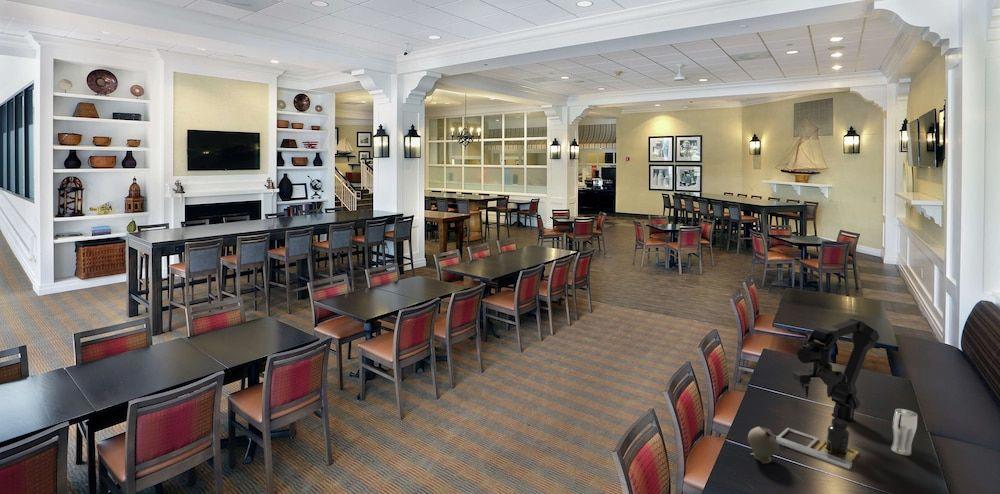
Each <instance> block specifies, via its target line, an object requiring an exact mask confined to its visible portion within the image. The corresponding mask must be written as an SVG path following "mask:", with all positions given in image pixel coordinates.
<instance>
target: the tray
mask: <svg viewBox="0 0 1000 494" xmlns="http://www.w3.org/2000/svg"><path fill="white" fill-rule="evenodd" d="M788 432H791V433H795V434H797V435H799V436H803V437H806V438H808V439H812V441H811V442H810V443H809V444H807V446H806V445H804V444H801V443H797V442H795V441H792V440H790V439H787V438H783V436H785V435H786V434H787V433H788ZM775 436H776V437H777V439H776V441H777V443H778V444H779V446H783V447H786V448H788V449H791V450H793V451H796V452H800V453H802V454H805V455H807V456H811V457H813V458H817V459H819V460H822V461H825V462H828V463H830V464H833V465H836V466H838V467H842V468H844V469H847V470H850V469H852V466H853V460H854V459H855V458H856V457H857V456H858V455H859V451H858V450H855V449H853V448H849V447H848V451H847V455H846V456H835V455H832V454H830V453H829V452H827V451H826V448H825V447H826V439H824V440H822V442H821V443H820V444H819V445H818V446H817V447H816V448H815V449H814V448H812V447H813V446H814V445H815V444H816V443H817V442H818V441H819V437H817V436H814V435H810V434H808V433H804V432H802V431H798V430H796V429H794V428H793V429H792V428H789V427H786V428H785V429H784V430H782V432H781V433H779V434H778V435H775Z"/></svg>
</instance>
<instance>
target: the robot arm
mask: <svg viewBox="0 0 1000 494" xmlns="http://www.w3.org/2000/svg"><path fill="white" fill-rule="evenodd" d="M850 334H852V337H851V340H852V344H853V347H852V350H851V352H850V356H849V358H848V361H847V363H846V366H845V368H844V371H843V372H842V371H841V370H840V371H838V370H833V364H831V362H830V361H831V354H832V350H834V349H836V346H834V345H833V344H835V343H837V342H838V339H839V338H842V337H845V336H847V335H850ZM879 339H880V335H879V333H878V331H877V330H876V329H874V328H873V327H871V326H869V325H868V324H866V323H865V322H864V321H863V320H860V319H856V318H850V319H848V320H847V321H843V322H840V323H838V324H836V325H831V326H824V325H823V326H817V327H815V328H814V329H813V331H811V334H810V335H809V337H808V339H807V341H806V342H805V344H803V346H802V348H800V349H798V351H797V353H796V355H797V358H798V361H800V362H801V363H802V364H810V363H811V365H812V366H811V369H809V373H807V372H806V371H805V370H794V371H793V372H792V378H793V379H794V380H796V381H797V382H798V383H799V385H800V388H801V389H802V393H803V395H804V398H805V399H806V398H807V399H808V396H809V390H810V389H809V388H810V386H811V385H812V383H811V380H821V381H822V382H823V383H824V385H826V395H827V398H830V400H831V401H832V402H834V406H833V413H831V416H833V417H834V418H838V419H842V420H845V421H846V422H847V423H850V422H854V423H856V422H857V420H856V419H855V418H854V417H855V410H858V408H860V404H861V401H860V400H859V399H858V397H857V393H858V389H857V386H856V382H857V380H858V377H859V374H860V372H861V369H862V367H863V365H864V364H863V363H864V361H865V359H866V356H867V353H868V351H870V350H871V349H873V348H875V346H876V344H877V342H878V341H879Z"/></svg>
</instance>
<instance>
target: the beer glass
mask: <svg viewBox="0 0 1000 494" xmlns="http://www.w3.org/2000/svg"><path fill="white" fill-rule="evenodd" d="M917 427H918V414H917V413H916V412H914V411H913V410H909V409H906V408H905V409H904V408H895V410H894V415H893V418H892V433H893V441H892V444H891V447H890V449H891V451H892V452H894V453H896V454H898V455H901V456H911V455H912V454H913V453H912V443H913V440H914V438H915V435H916V433H917V432H916V431H917Z"/></svg>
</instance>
